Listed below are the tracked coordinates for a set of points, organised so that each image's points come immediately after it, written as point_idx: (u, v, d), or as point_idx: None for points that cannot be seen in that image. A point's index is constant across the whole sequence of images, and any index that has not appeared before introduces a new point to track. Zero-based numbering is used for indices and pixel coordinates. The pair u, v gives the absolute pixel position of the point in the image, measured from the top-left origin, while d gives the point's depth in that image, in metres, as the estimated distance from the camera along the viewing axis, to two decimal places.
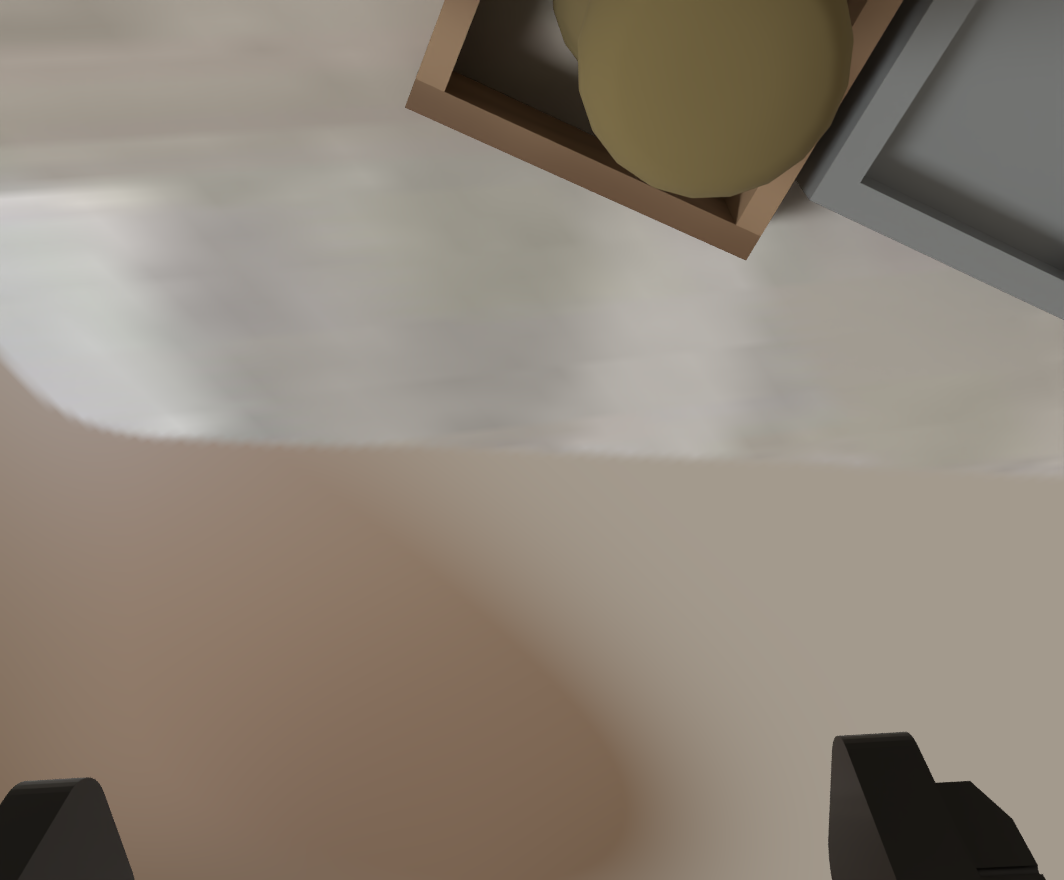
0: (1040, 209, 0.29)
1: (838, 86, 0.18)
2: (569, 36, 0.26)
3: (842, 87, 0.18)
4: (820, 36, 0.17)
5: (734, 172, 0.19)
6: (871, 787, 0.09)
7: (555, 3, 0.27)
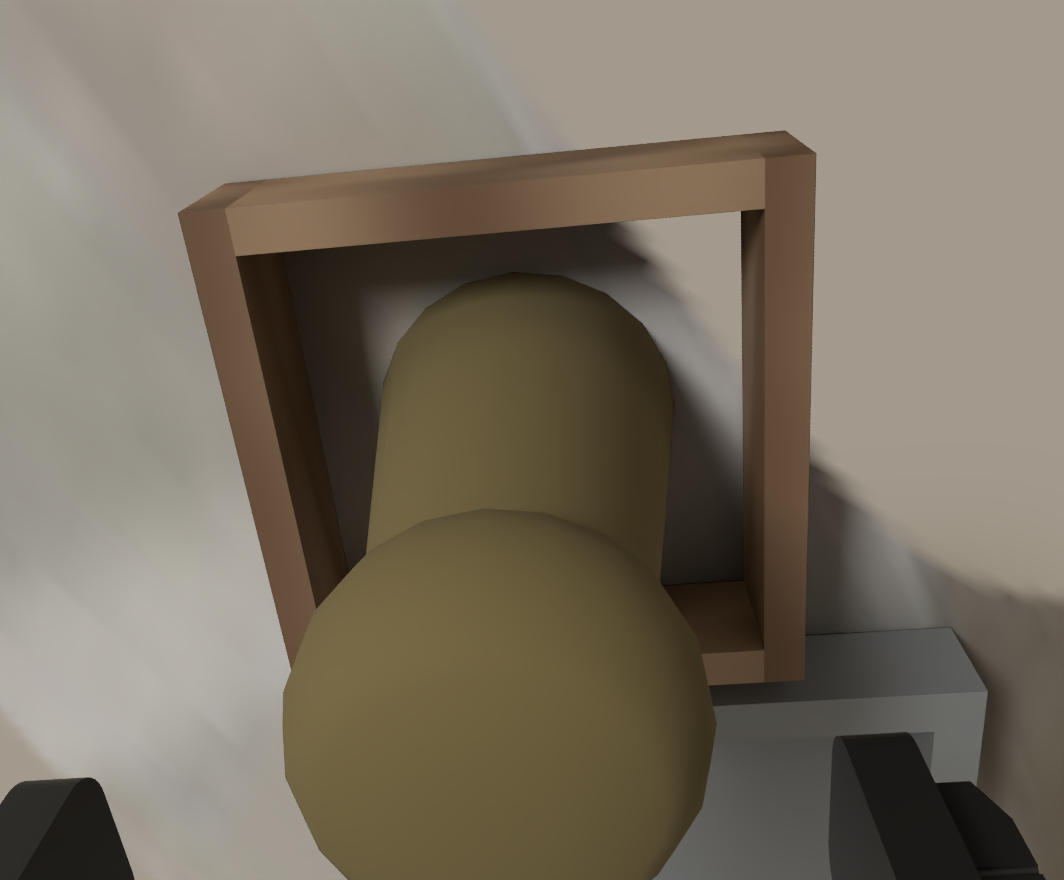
0: None
1: None
2: (408, 370, 0.18)
3: None
4: None
5: None
6: (871, 787, 0.09)
7: (433, 312, 0.19)
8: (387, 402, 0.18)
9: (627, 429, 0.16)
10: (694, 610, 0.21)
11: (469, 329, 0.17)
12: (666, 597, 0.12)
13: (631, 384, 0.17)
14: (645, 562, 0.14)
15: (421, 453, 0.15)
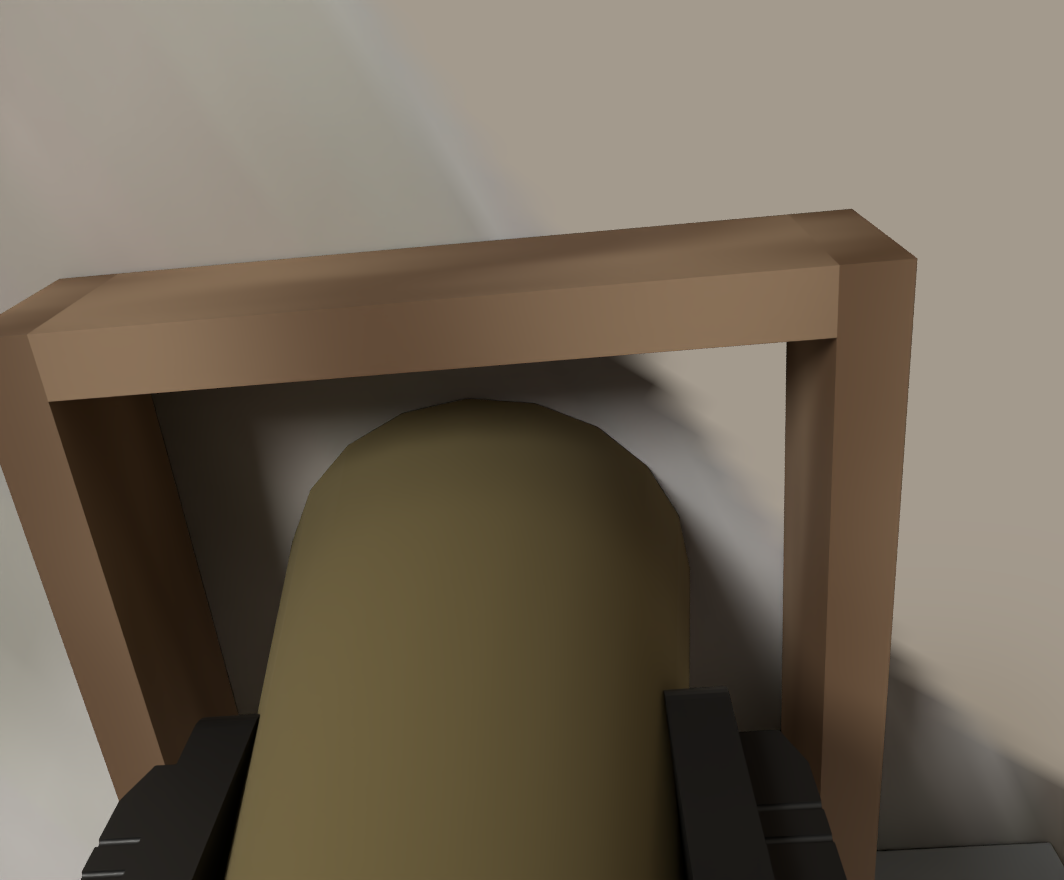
0: None
1: None
2: (313, 553, 0.12)
3: None
4: None
5: None
6: (679, 733, 0.10)
7: (356, 456, 0.14)
8: (286, 593, 0.13)
9: (632, 676, 0.10)
10: None
11: (400, 500, 0.12)
12: None
13: (635, 584, 0.12)
14: None
15: (307, 747, 0.09)
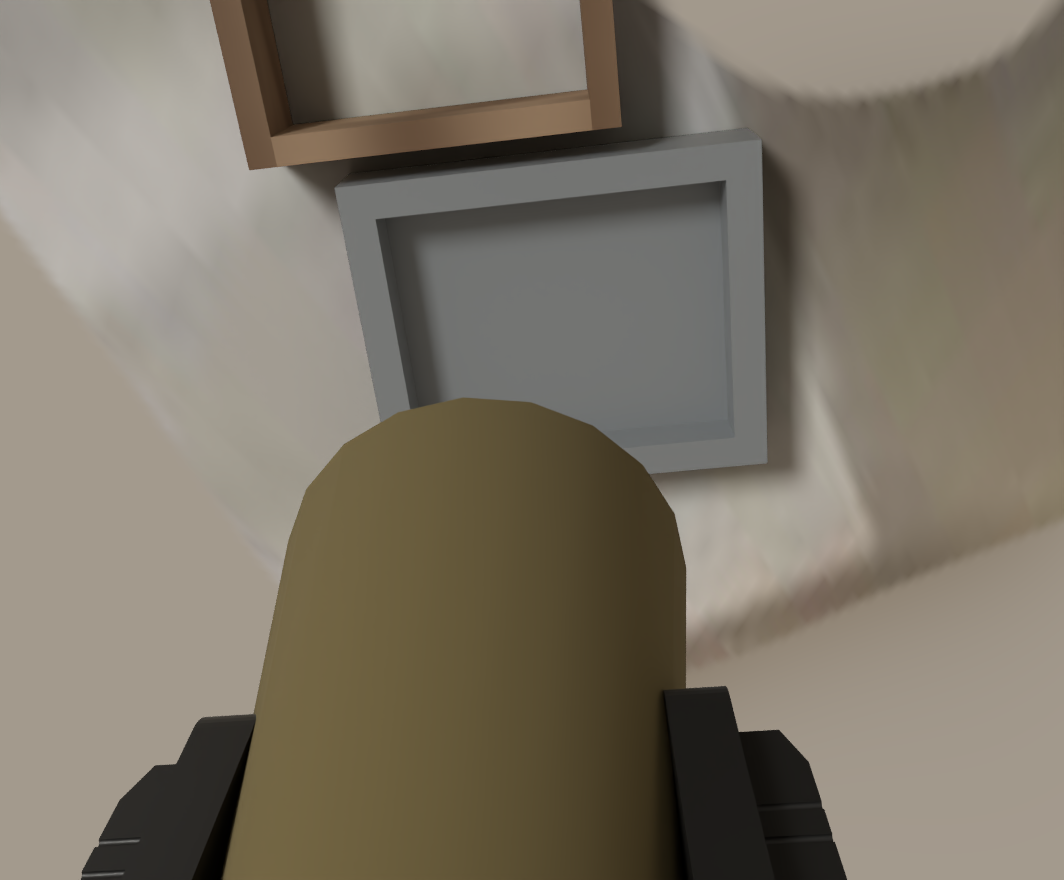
0: (454, 386, 0.32)
1: None
2: (310, 552, 0.12)
3: None
4: None
5: None
6: (680, 733, 0.10)
7: (352, 454, 0.14)
8: (282, 592, 0.13)
9: (628, 674, 0.10)
10: (545, 98, 0.28)
11: (396, 498, 0.12)
12: None
13: (632, 582, 0.12)
14: None
15: (304, 745, 0.09)
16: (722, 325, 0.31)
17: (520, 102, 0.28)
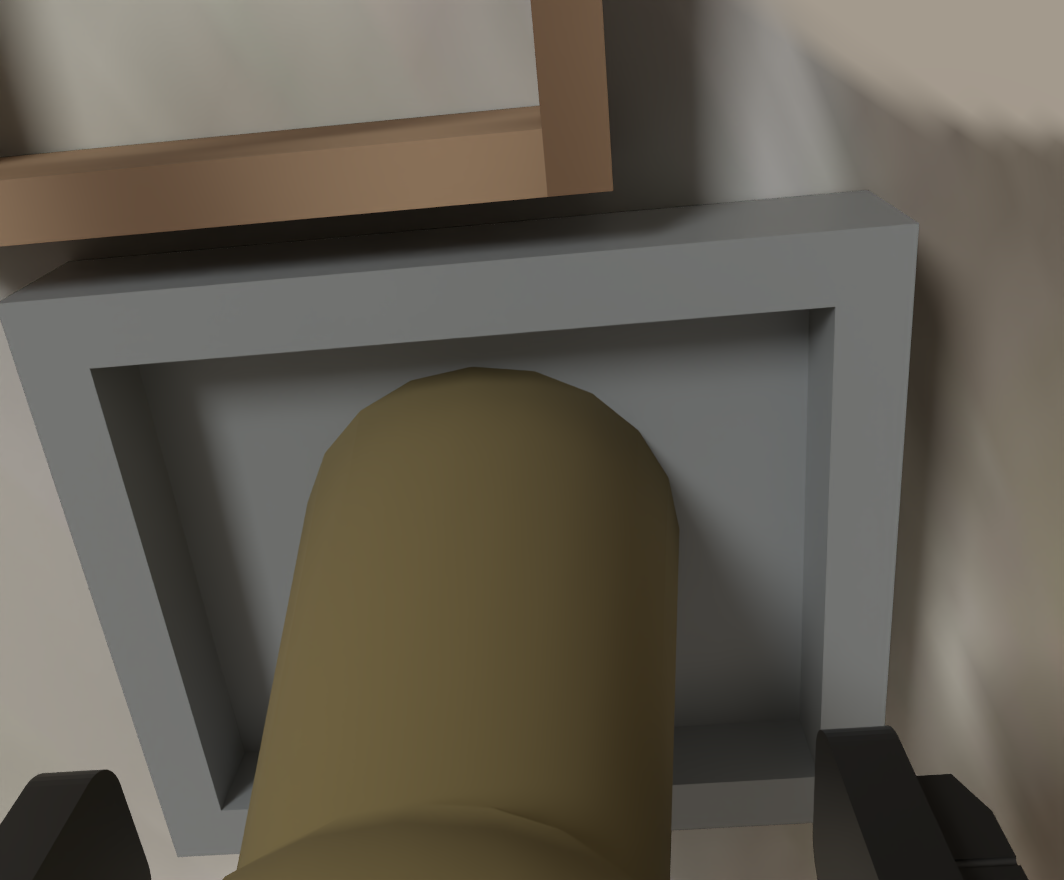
0: None
1: None
2: (330, 505, 0.13)
3: None
4: None
5: None
6: (853, 780, 0.09)
7: (368, 419, 0.15)
8: (304, 544, 0.14)
9: (622, 609, 0.11)
10: (452, 122, 0.13)
11: (410, 455, 0.13)
12: None
13: (625, 532, 0.13)
14: (651, 845, 0.09)
15: (329, 665, 0.10)
16: (799, 562, 0.16)
17: (396, 130, 0.13)
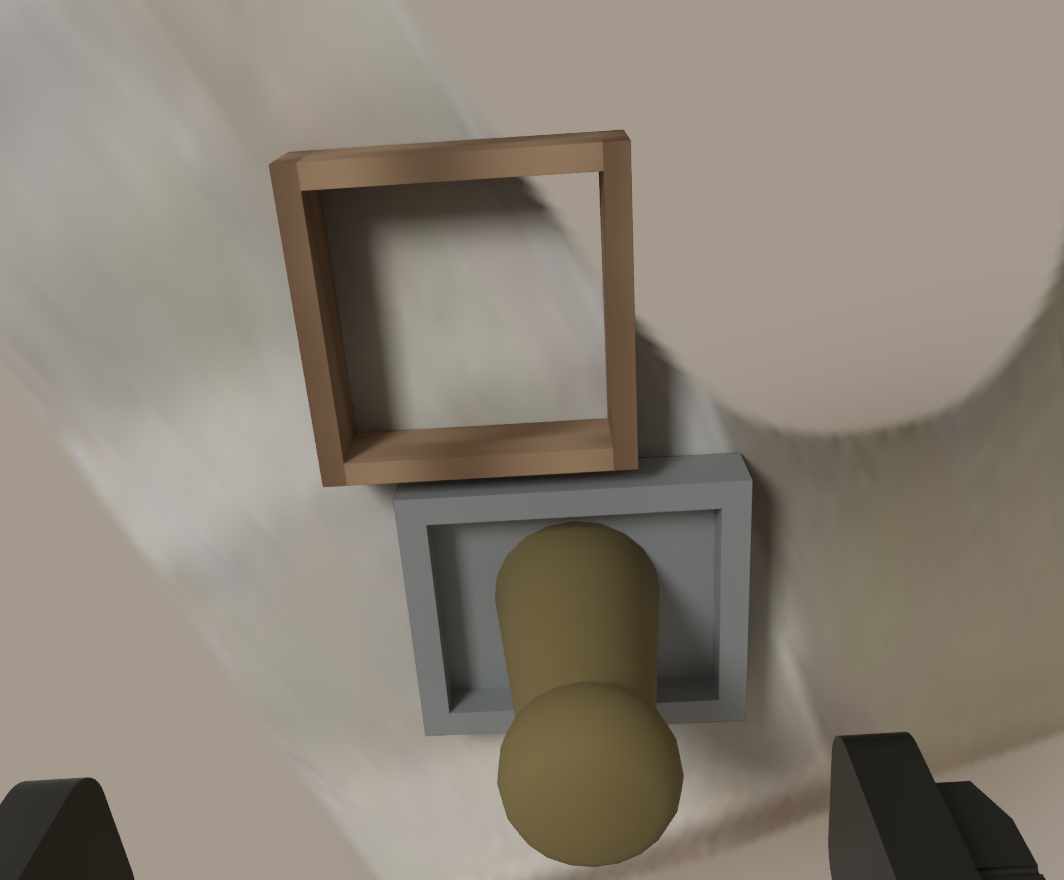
0: (480, 642, 0.37)
1: (620, 861, 0.28)
2: (521, 581, 0.34)
3: None
4: (642, 843, 0.27)
5: (543, 845, 0.27)
6: (871, 787, 0.09)
7: (530, 543, 0.35)
8: (508, 596, 0.34)
9: (639, 624, 0.32)
10: (574, 432, 0.34)
11: (555, 562, 0.33)
12: (663, 722, 0.27)
13: (639, 594, 0.33)
14: (651, 699, 0.30)
15: (543, 642, 0.31)
16: (711, 604, 0.37)
17: (553, 436, 0.33)
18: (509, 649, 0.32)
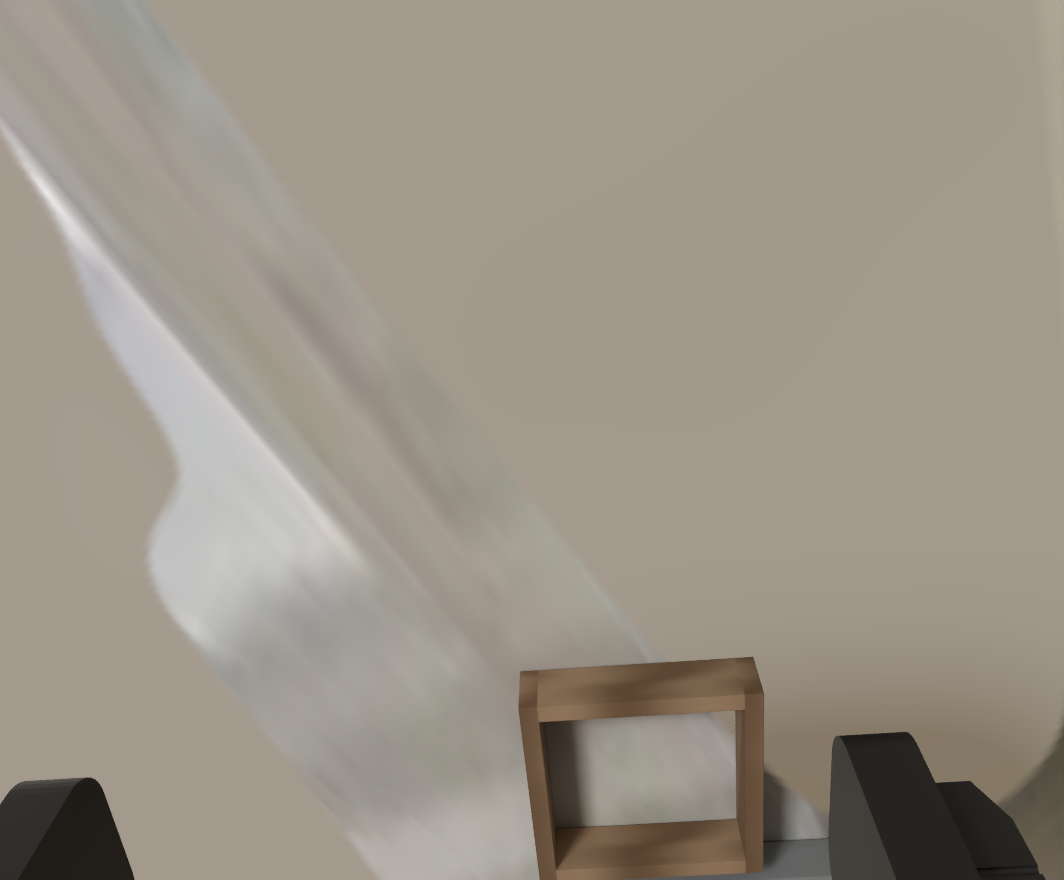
0: None
1: None
2: None
3: None
4: None
5: None
6: (871, 787, 0.09)
7: None
8: None
9: None
10: (714, 836, 0.47)
11: None
12: None
13: None
14: None
15: None
16: None
17: (700, 842, 0.47)
18: None
